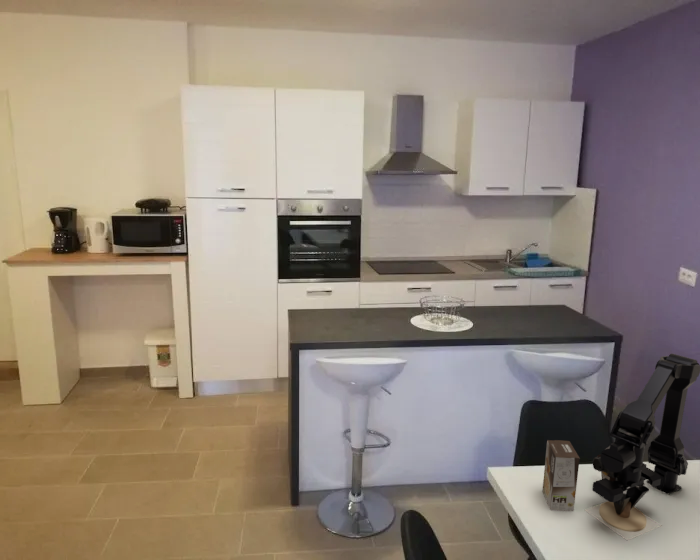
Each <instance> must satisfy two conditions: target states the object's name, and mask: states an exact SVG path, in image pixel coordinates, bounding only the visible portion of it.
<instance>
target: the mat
mask: <svg viewBox="0 0 700 560" xmlns="http://www.w3.org/2000/svg"><path fill="white" fill-rule="evenodd" d="M607 501H608V500H607ZM607 501H605V502H607ZM602 503H603V502H601V503H599V504H596V505H593V506H590V507H588V508H585V509H584V512H586V513H588V514H589V515H590V516H592V517H593V518H595V519H596V520H598V521H599V522H600V523H602V524H603V525H605V526H606V527H607V528H608V529H610V530H611V531H613V532H614V533H615V534H617V535H619V536H620V537H621V538H623V539H624V540H626V541H629V540H632V539H634V538H637V537H639V536H641V535H644V534H646V533H648V532H649V533H650V532H651V531H653V530H656V529H658V528H660V527H662V526H663V525H661V524H660V523H659V522H657V521H656V520H654V519H652V518H651V517H649V516H648V515H646V514H644V515H645V517H646V520H647V521H646V527H645V528H644V529H643V530H641V531H635V532H631V531H624V530H621V529H618V528H615V527H613V526H611V525H610V524H608V523H607V522H605V521H604V520H603V519H602V517H601V516H600V514H599V509H600V505H601V504H602Z"/></svg>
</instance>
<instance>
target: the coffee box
mask: <svg viewBox="0 0 700 560" xmlns="http://www.w3.org/2000/svg"><path fill="white" fill-rule="evenodd" d="M580 459H581V458H580V456H579V454H578V453H577V451H576V450H575V448H574V446H573V444H572V443H571V441H570V440H560V439H559V440H558V439H554V440H550V439H547V441H546V450H545V459H544V471H543V480H542V494H543V497H544V498H545V501H546V503H547V505H548V508H549V510H550V511H559V512H574V510H575V509H574V508H575V502H576V494H577V485H578V478H579V477H578V476H579V475H578V474H579V466H580Z"/></svg>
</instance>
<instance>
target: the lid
mask: <svg viewBox="0 0 700 560" xmlns="http://www.w3.org/2000/svg"><path fill="white" fill-rule="evenodd" d="M601 503H602V504H601ZM601 503H600V504H601V505H600V509H599V514H600V516H601V517H602V519H603V520H604V521H605V522H607V523H608V524H610V525H611V526H613V527H615V528H618V529H621V530H624V531H631V532H635V531H641V530H643V529H644V528H645V527H646V521H647V520H646V517H645V515H646V514H645V513H643V512H642V511H641V510H640V509H638V508H637V507H635V506H634V507H633V508H632V509H631V502H630V501H628V503H627V504H626V506H625V508H624V510H623V512H622V513H621V514H620V515H619V514H617V513H616V510H615V507H614V503H613V502H609V501H608V500H607V502H606V501H605V502H601ZM630 509H631V510H630Z"/></svg>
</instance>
